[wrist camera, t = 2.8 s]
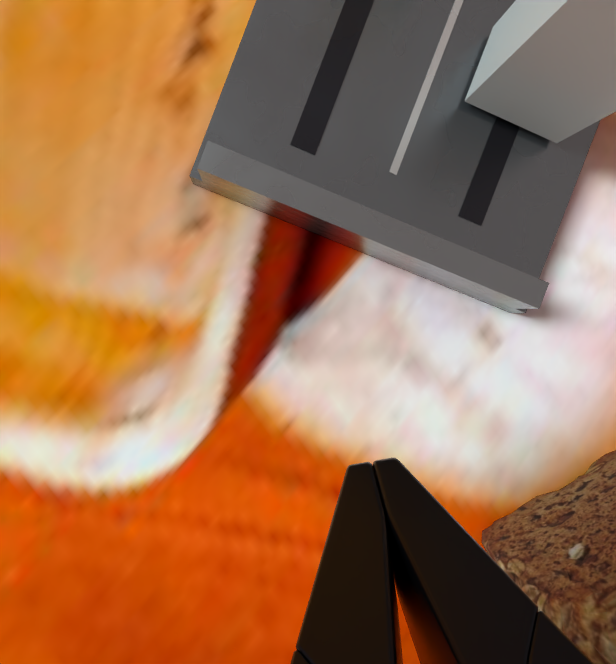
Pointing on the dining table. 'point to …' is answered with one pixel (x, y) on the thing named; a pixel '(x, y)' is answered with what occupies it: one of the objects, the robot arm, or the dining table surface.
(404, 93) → the console
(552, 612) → the bread
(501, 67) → the fader turquoise
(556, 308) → the dining table surface
